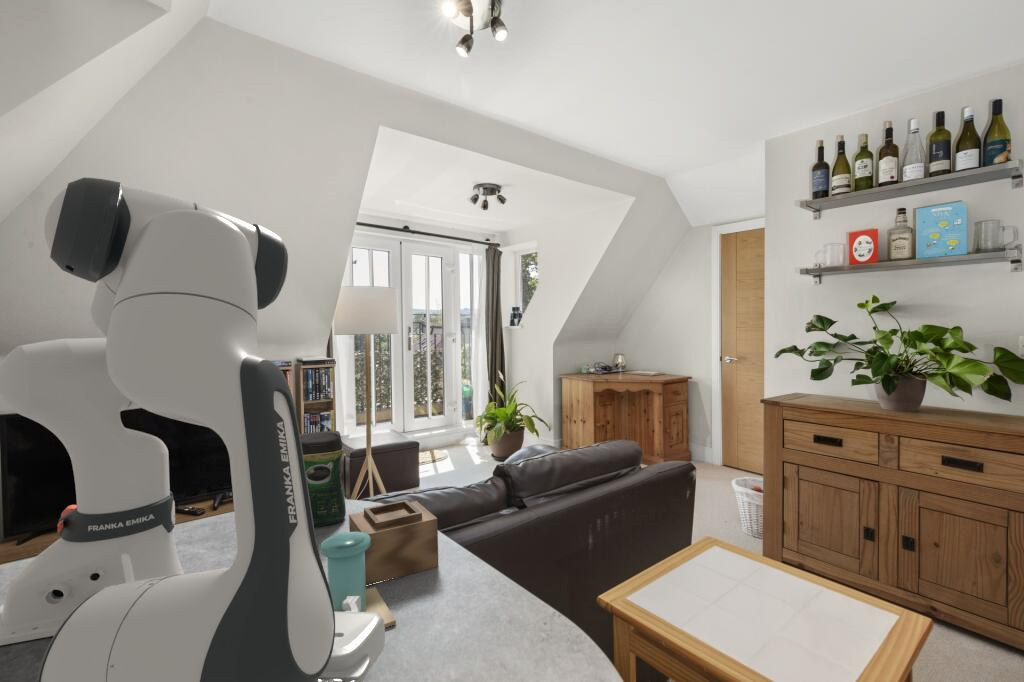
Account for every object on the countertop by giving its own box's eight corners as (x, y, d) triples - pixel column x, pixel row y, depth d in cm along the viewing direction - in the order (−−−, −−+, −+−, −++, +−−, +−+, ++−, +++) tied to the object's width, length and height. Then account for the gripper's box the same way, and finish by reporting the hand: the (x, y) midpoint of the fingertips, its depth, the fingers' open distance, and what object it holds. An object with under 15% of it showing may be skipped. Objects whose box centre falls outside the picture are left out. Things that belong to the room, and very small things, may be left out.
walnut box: (365, 587, 74) (363, 528, 74) (350, 561, 83) (348, 508, 83) (438, 566, 81) (437, 512, 80) (417, 544, 89) (416, 495, 89)
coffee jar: (345, 510, 107) (343, 426, 106) (346, 524, 99) (343, 433, 99) (297, 517, 103) (295, 430, 103) (294, 531, 96) (291, 438, 96)
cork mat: (316, 651, 59) (315, 646, 59) (303, 611, 68) (303, 607, 68) (395, 624, 65) (395, 620, 65) (375, 591, 73) (375, 587, 73)
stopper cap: (322, 632, 62) (320, 555, 62) (323, 606, 68) (320, 536, 68) (374, 621, 64) (372, 546, 64) (370, 597, 70) (368, 528, 70)
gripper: (355, 655, 42) (402, 575, 56) (131, 651, 43) (231, 574, 57) (358, 727, 42) (404, 629, 56) (134, 721, 43) (233, 627, 57)
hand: (315, 601), depth 56 cm, fingers open, 8 cm apart
